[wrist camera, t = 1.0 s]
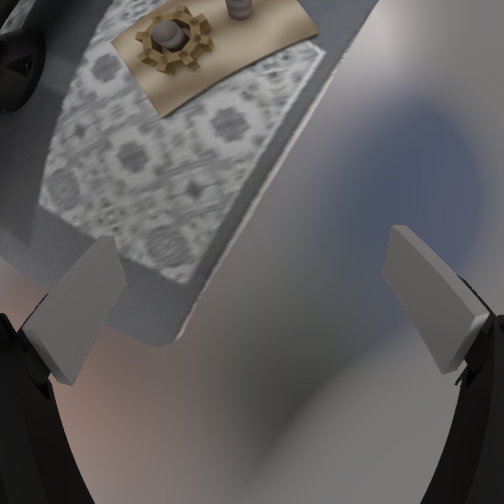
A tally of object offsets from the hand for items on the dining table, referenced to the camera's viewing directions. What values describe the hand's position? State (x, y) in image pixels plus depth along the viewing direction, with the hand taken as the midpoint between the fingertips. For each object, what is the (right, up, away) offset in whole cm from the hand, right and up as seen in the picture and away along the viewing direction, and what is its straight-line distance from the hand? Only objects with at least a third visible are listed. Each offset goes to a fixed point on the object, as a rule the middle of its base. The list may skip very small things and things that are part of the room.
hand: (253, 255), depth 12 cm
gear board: (-5, +27, +13) cm, 31 cm away
